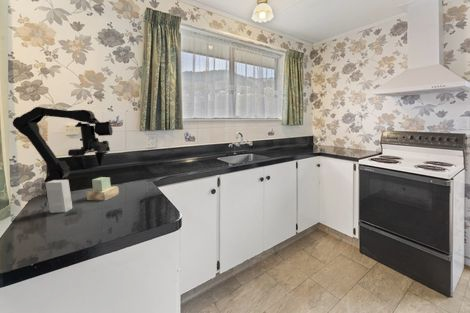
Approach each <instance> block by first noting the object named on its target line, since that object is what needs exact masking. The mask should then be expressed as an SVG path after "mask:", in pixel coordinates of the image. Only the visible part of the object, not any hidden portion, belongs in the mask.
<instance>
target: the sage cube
mask: <svg viewBox="0 0 470 313" xmlns="http://www.w3.org/2000/svg"><path fill="white" fill-rule="evenodd" d="M91 183H92V189H93V191H104V190H107V189H109V188H111V186H112V185H111V177H110V176H109V177H105V176H104V177H103V176H99V177H97V178H93V179H91Z"/></svg>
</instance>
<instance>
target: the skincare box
mask: <svg viewBox="0 0 470 313" xmlns="http://www.w3.org/2000/svg"><path fill="white" fill-rule="evenodd" d="M44 184H45V189H46V197H47V202H48V208H49V213H51V214H55V213H66V212H69V211H70V210H72V209H73V203H72V196H71V195H72V194H71V188H70V182H69V179H65V180H53V181H50V182H46V183H44Z"/></svg>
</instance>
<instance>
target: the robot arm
mask: <svg viewBox="0 0 470 313" xmlns="http://www.w3.org/2000/svg"><path fill="white" fill-rule="evenodd" d="M45 117H52V118H53V117H54V118H64V119H70V120H74V121H78V122H77V124H75V125H74V127H75V128H80V133H81V138H80V139H79V141H80V142H82V146H81V147H80V148H70V149H69V150H68V151H67V155H68V156H69V157H71V158H73V159H74V160H75V161H76V162H77V163H78V165H79V166H80V168H82V170H86V161H85V160H86V157H87V155H85V154H88V153H94V154H95V157H96V161H97V164H98V166H99V167H101V166H102V165H103V161H104V158H105V155H106V154H108V153H109V151H111V150H110V144H109V143H110V142H109V141H108V140H103V141H99V138H98V137H96V135H97V136H99V137H101V136H104V137H105V136H112V135H113V126H112V124H111V122H110V121H101V122H100V121H99V119H97V118H96V117H95V113H94V112H92V110H89V109H88V110H87V109H76V110H75V109H73V110H67V109H59V108H58V109H57V108H50V107H49V108H48V107H47V108H46V107H44V106H35V107H33V109H31V110H29V111H28V112H25V113H24V114H21V115H20V116H16V117H14V118H13V121H12V126H13V127H14V128H15V129H16V130H17V131H18V132H19V133H20V134H22V135H24V136H25V137H27V139H28V140H29V142H30V143H31V144H32V146H33V147H34V149H35V150H36V151H37V152H38V154H39V155H40V157H41V158H42V160H43V161H44V163H45V164H46V168H47V173H48V174H49V175H48V176H47V177H46V178H45V179H44V182H45V183H46V182H50V181H53V180H67V177H68V176H69V175H70V173H71V171H70V166H69V165H68V163H67V162H66V160H62V161H61V160H60V159H58V158H57V156H56V155H55V153H54V152H53V150H52V149H51V148H50V146H49V145H48V143H47V142H46V141H45V139H44V138H43V136H42V135H41V133H40V126H39V125H38V123H39V122H41V121H42V120H43V118H45ZM82 122H83V123H82ZM45 183H44V184H45Z"/></svg>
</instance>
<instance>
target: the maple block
mask: <svg viewBox="0 0 470 313" xmlns="http://www.w3.org/2000/svg"><path fill="white" fill-rule="evenodd" d="M119 192H120V191H119V186H115V185H113V186H112V185H111V188H109V189H107V190H104V191H93V188H92V189H90V190H88V191H86V192H85V193H86V199H87V200H88V201H89V200H90V201H91V200H92V201H106V200H109V199H111V198H114V197H115V196H116V197H117V195H119V194H120V193H119Z"/></svg>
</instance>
